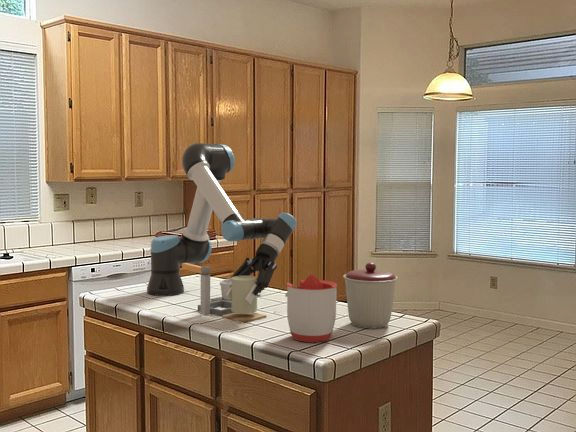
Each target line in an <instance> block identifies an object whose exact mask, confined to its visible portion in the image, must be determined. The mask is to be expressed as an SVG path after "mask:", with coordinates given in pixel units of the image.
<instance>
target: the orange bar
mask: <svg viewBox="0 0 576 432" xmlns="http://www.w3.org/2000/svg"><path fill="white" fill-rule="evenodd" d="M210 267H211V266H208V265H206V266H201V265H197V264H189V263H182V265H181V269H182V270H186V271H190V272H193V273H197V274H200V275H208V274H209V275H211V274H210V273H211V270H210V269H211V268H210Z"/></svg>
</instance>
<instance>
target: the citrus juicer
mask: <svg viewBox="0 0 576 432" xmlns="http://www.w3.org/2000/svg"><path fill="white" fill-rule="evenodd" d="M286 286H287V289H286V290H287V292H286V293H285V297H286V298H287V299H286V300H287V301H286V302H287V304H286V305H287V306H286V307H287V308H286V310H287V311H286V313H287V314H286V315H287V323H288V327H289V331H290V333H291V334H290V335H291V337H292V338H293V339H295V341H296V340H297V341H299V342H300V341H301V342H307V343H311V344H312V343H313V344H317V343H319V342H326V341H328V340H330V338H331V336H332V334H333V331H334V327H335V322H336V320H337V319H336V317H337V287H338V283H337V282H334V281H331V280H323V279H319V278H318V277H317V276H316V275H314V273H311V274H309V275H308V276H307V277H306V278H305V279H300V280H299V286H297V287H295V286H294V284H292V283H290V282H287V283H286Z"/></svg>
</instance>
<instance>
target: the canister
mask: <svg viewBox="0 0 576 432" xmlns="http://www.w3.org/2000/svg"><path fill="white" fill-rule="evenodd" d="M376 268H377V265H376V263H373V262H367V263H366V264H365V269H355V270H354V269H353V270H350V271H347V273H345V274H343V276H342V277H343V278H344V281H345V282H344V283H345V293H346V302H347V303H346V304H347V313H348V318H349V320H350V323H351V324H352V325H354V326H356V327H358V328H364V329H380V328H384V327H386V326H388V325H389V323H390V321H391V319H392V318H391V317H392V311H393V305H394V298H395V291H396V283H397V281H398V279H399V278H398V276H397V275H395V274H394V273H393V272H390V271H387V270H381V269H376Z"/></svg>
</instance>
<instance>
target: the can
mask: <svg viewBox="0 0 576 432" xmlns="http://www.w3.org/2000/svg"><path fill="white" fill-rule="evenodd" d="M231 277H232V276H231ZM230 279H232V301H231V302H232V309H231V311H232V312H235V313H253V312H254V313H257V312H258V309H259V308H258V295H257V296H255V298H254V299H253V301H252V303H251V304H248V302H247V301H246V300H245V298H246V297H247V295H248V294H249V292H250V290H251V289H252V287H253V286H254V284H256V283H257V279H258V276H254V275H249V276H234V277H232V278H230ZM256 285H257V284H256Z"/></svg>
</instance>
